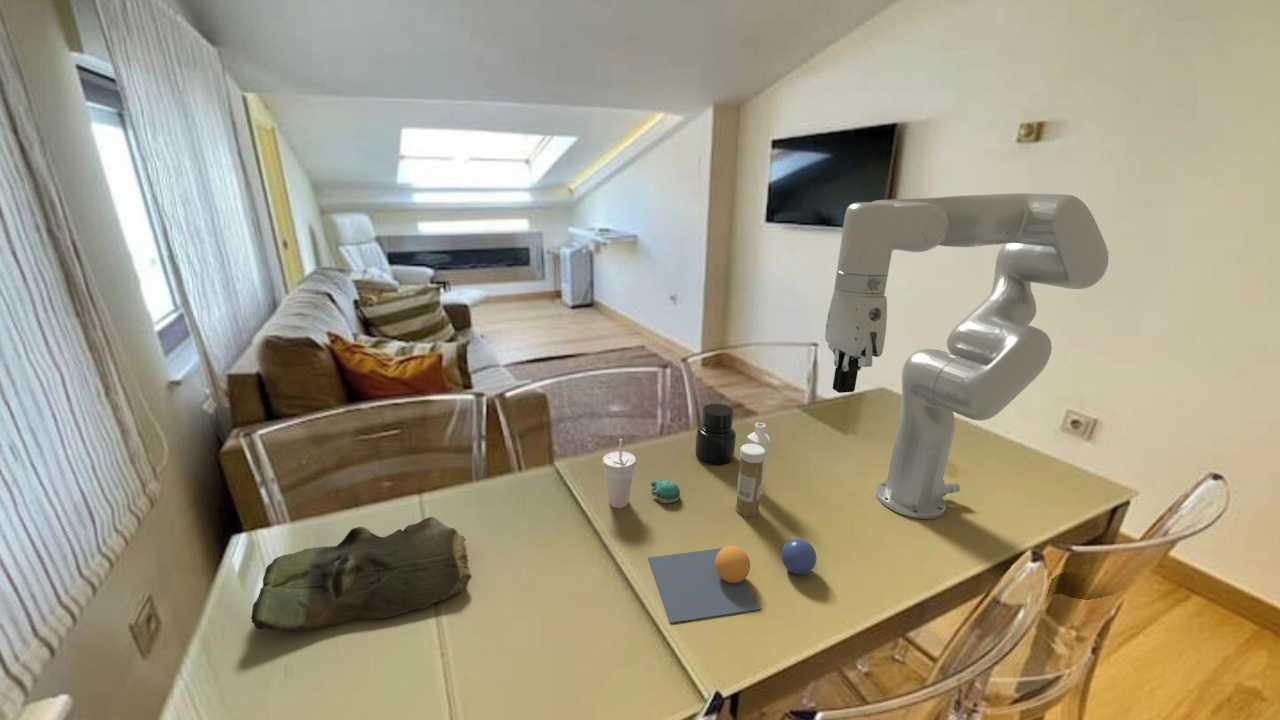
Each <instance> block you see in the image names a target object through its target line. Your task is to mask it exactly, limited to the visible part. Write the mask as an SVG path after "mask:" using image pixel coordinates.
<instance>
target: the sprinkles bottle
mask: <svg viewBox="0 0 1280 720" xmlns="http://www.w3.org/2000/svg"><path fill="white" fill-rule="evenodd" d="M739 457H740V458H739V460H740V461H739V469H738V477H737V478H738V479H737V480H738V481H737V487H736V488H737V489H736V490H737V492H736V504H735V510H736V512H737V513H738V514H740V515H741V516H745V517H754V516H756V515H758V513H759V512H760V507H759V506H760V500H761V499H760V498H761V495H760V492H761V487H762V486H761V481H762V469H763V462H764V460H765V449H764V448H763V447H761V446H759V445H756V444H747V443H745V444H743V445H742V446H741V447H740V451H739ZM762 482H763V481H762Z"/></svg>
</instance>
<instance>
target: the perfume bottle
mask: <svg viewBox="0 0 1280 720" xmlns="http://www.w3.org/2000/svg"><path fill="white" fill-rule="evenodd" d="M766 427H767V426H766V423H764V422H756V423H754V432H752V433H749V434H748V435H747V436H746V444H756V445H759V446H761V447H763V448H764V449H765V460H764V462H763V469H762V481H761V492H760V496H762V495H763V487H762V485H763V482H764V481H763V480H764V475H765V469H766V465H767V459H768V455H769V450H770V445H771V444H770V443H771V439H770V437H769V435H768V434H767V433H765V431H766V430H765V429H766Z"/></svg>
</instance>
